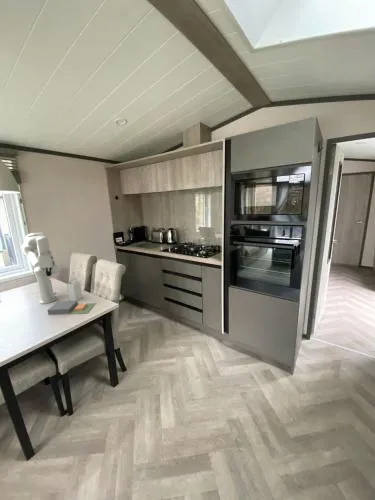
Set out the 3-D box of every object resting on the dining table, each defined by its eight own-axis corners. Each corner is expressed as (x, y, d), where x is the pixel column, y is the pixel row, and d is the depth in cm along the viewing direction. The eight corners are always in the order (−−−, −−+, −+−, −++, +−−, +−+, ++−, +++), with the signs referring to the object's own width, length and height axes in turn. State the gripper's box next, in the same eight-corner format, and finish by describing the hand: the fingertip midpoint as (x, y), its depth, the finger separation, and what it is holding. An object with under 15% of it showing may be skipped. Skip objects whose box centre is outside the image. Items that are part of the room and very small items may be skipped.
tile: (86, 303, 176) (87, 305, 176) (79, 303, 176) (79, 306, 176) (82, 308, 168) (82, 310, 169) (74, 308, 168) (74, 311, 168)
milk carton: (69, 300, 188) (65, 279, 184) (76, 297, 195) (72, 276, 190) (76, 301, 186) (72, 280, 182) (82, 297, 193) (79, 277, 188)
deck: (58, 305, 179) (57, 301, 178) (78, 304, 179) (77, 300, 178) (48, 314, 165) (47, 310, 165) (69, 313, 166) (68, 308, 165)
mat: (78, 304, 180) (78, 303, 180) (95, 303, 180) (95, 303, 180) (68, 314, 165) (68, 313, 165) (87, 313, 165) (87, 312, 165)
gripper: (57, 251, 170) (61, 273, 174) (37, 252, 170) (42, 274, 174) (51, 253, 163) (56, 277, 167) (31, 254, 162) (36, 278, 167)
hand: (49, 275), depth 170 cm, fingers closed
